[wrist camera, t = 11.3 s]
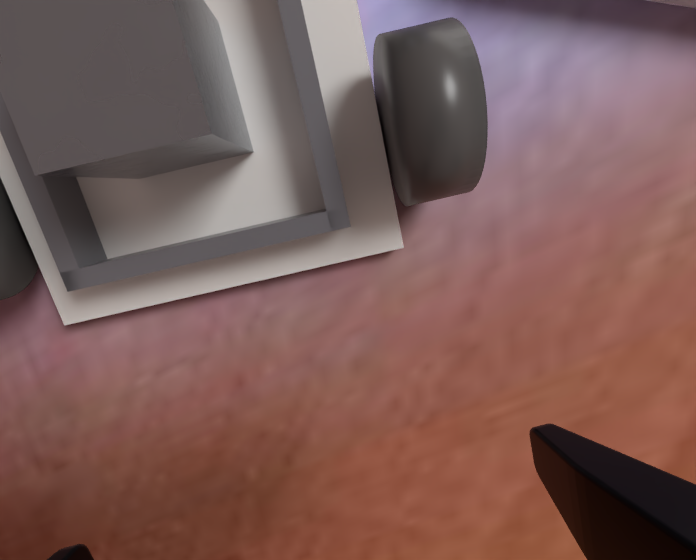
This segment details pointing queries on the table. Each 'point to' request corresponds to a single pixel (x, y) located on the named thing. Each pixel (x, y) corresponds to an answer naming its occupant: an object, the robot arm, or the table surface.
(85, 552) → the robot arm
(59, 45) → the dark grey cube
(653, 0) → the computer
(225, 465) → the table surface
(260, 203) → the toy car chassis
